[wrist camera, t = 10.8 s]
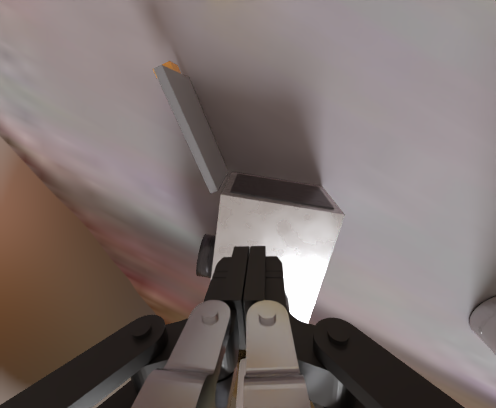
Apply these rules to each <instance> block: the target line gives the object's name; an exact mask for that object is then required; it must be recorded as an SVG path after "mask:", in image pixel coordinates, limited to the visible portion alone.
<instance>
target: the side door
mask: <svg viewBox="0 0 496 408" xmlns="http://www.w3.org/2000/svg"><path fill="white" fill-rule="evenodd" d="M153 71H154V73H155V75H156V77H157V78H158V80H159V83H160V85H161V87H162V89H163V91H164V93H165V96H166V98H167V100H168V102H169V104H170V107H171V109H172V111H173V113H174V115H175V118H176V120H177V122H178V124H179V126H180V128H181V131H182V133H183V135H184V137H185V139H186V142H187V144H188V146H189V148H190V150H191V152H192V155H193V157H194V159H195V161H196V163H197V166H198V168H199V170H200V172H201V174H202V176H203V179H204V181H205V183H206V185H207V187H208V190H209V192H210V193H213V192H216V191H218V189H219V188H220V186H221V184H222V182H223V180H224V179H225V177H226V175H227V173H228V170H227V168H226V165H225V163H224V160H223V158H222V156H221V153H220V151H219V148H218V146H217V144H216V141H215V139H214V136H213V134H212V131H211V129H210V127H209V124H208V122H207V119H206V117H205V115H204V112H203V110H202V107H201V105H200V103H199V100H198V98H197V95H196V93H195V91H194V88H193V86H192V83H191V81H190V78H189V77H187V76H185V75H183V74H181V72H180V70H179V68H178V65H176V64H174V63H172V62H170V61H169V62H167V63H164V64H162V65H160V66H158V67H156V68H154V69H153Z"/></svg>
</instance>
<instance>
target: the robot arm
mask: <svg viewBox="0 0 496 408" xmlns="http://www.w3.org/2000/svg"><path fill="white" fill-rule="evenodd" d="M470 327H471V329H472V330H473V331H474V332H475V333H476V334H477V336H478V337H479V338H480V339H481V340H482V341H483V342H484V343H485V344H486V345H487V346H488V347H489V348H490V349H491V350H492V351H493V352H494V354H495V355H496V297H493V298H491V299H488V300H487V301H485V302H483V303H482V304H481V305H479V306H478V307H477V308H476V309H475V310H474V311H473V313H472V315H471V317H470ZM239 349H240V350H246V375H245V376H244V388H243V408H311V406H310V401H312V402H313V404H314V406H315V408H464V407H463V406H462V405H460V404H459V403H457V402H456V401H455V400H453V399H452V398H451V397H449V396H448V395H447V394H445V393H444V392H443V391H441V390H440V389H439V388H437V387H436V386H434V385H433V384H432V383H430V382H429V381H428V380H426V379H425V378H424V377H422V376H421V375H420V374H418V373H417V372H415V371H414V370H413V369H411V368H410V367H409V366H407V365H406V364H405V363H403V362H402V361H401V360H399V359H398V358H396V357H395V356H394V355H392V354H391V353H390V352H388V351H387V350H386V349H384V348H383V347H382V346H380V345H379V344H377V343H376V342H375V341H373V340H372V339H371V338H369V337H368V336H367V335H365V334H364V333H363V332H361V331H360V330H358V329H357V328H356V327H354V326H353V325H352V324H350V323H348V322H346V321H344V320H342V319H338V318H326V319H323V320H321V321H319V322H318V323H317V324H316V325H312V324H308V323H305V322H302V321H300V320H298V319H297V318H295V317H294V316H293V315H292V314H291V313H290V312H289V310H288V309H287V306H286V298H285V287H284V277H283V267H282V262H281V261H280V259H279V258H278V257H277V256H266V246H235V247H234V249H233V253H232V257H223V258H222V259H221V260H220V261H219V262H218V263H217V265H216V267H215V270H214V273H213V276H212V279H211V282H210V285H209V288H208V291H207V293H206V296H205V299H204V302H203V303H201V304H199V305H198V306H196V307H195V308H194V309H193V311H192V312H191V314H190V316H189V318H188V319H185V320H182V321H179V322H175V323H171V324H167V325H165V322H164V320H163V319H162V318H161V317H160V316H157V315H147V316H143V317H141V318H138V319H136V320H135V321H133V322H131V323H129V324H128V325H126V326H125V327H123V328H121V329H120V330H118V331H117V332H115V333H114V334H112V335H110V336H109V337H107V338H106V339H104V340H103V341H101V342H99V343H98V344H96V345H95V346H93V347H91V348H90V349H88V350H87V351H85V352H84V353H82V354H80V355H79V356H77V357H76V358H74V359H73V360H71V361H69V362H68V363H66V364H65V365H63V366H61V367H60V368H58V369H57V370H55V371H54V372H52V373H50V374H49V375H47V376H46V377H44V378H42V379H41V380H39V381H38V382H36V383H35V384H33V385H31V386H30V387H28V388H27V389H25V390H24V391H22V392H20V393H19V394H17V395H16V396H14V397H13V398H11V399H9V400H8V401H6V402H5V403H3V404H1V405H0V408H92V407H93V406H94V405H96V404H97V403H98V402H99V401H101V400H102V399H103V398H104V397H106V396H107V395H108V394H109V393H111V392H112V391H113V390H115V389H116V388H117V387H119V386H120V385H121V384H122V383H124V382H125V381H126V380H127V379H128V378H130V377H131V381H130V382H128V383H127V384H126V385H125V386H123V387H122V388H121V389H119V390H118V391H117V392H116V393H115V394H113V395H112V396H111V397H109V398H108V399H107V400H106V401H104V402H103V403H102V404H101V405H99V406H98V407H97V408H230V406H231V400H232V395H233V390H234V385H235V380H236V375H237V361H238V353H239ZM309 400H310V401H309Z"/></svg>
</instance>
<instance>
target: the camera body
mask: <svg viewBox="0 0 496 408" xmlns="http://www.w3.org/2000/svg"><path fill="white" fill-rule="evenodd" d="M344 216H345V214H344V213H343V212H342V210H341V209H340V208H339V207H338V205H337V204H336V203H335V202H334V200H333V199H332V198H331V197H330V195H329V194H328V193H327V192H326V190H325V189H324V188H323V187H322V186H317V185H311V184H305V183H299V182H293V181H286V180H280V179H274V178H268V177H262V176H256V175H250V174H244V173H238V172H231V174H230V176H229V179H228V181H227V183H226V185H225V187H224V189H223V191H222V193H221V196H220V205H219V213H218V222H217V231H216V236H213V235H207V234H205V235H204V237H203V239H202V242H201V246H200V250H199V254H198V260H197V268H196V274H197V276H202V277H208V278H211V279H212V276H213V273H214V270H215V267H216V265H217V263H218V262H219V261H220V260H221V259H222V258H223V257H232V253H233V249H234V247H235V246H266V256H277V257H278V258H279V259H280V261H281V262H282V267H283V277H284V287H285V298H286V306H287V309H288V310H289V312H290V313H291V314H292V315H293V316H294V317H295V318H297V319H298V320H300V321H302V322H305V323H308V321H309V318H310V315H311V312H312V309H313V307H314V304H315V301H316V298H317V295H318V292H319V289H320V286H321V283H322V280H323V277H324V275H325V272H326V269H327V266H328V263H329V260H330V257H331V254H332V251H333V248H334V245H335V242H336V240H337V237H338V234H339V231H340V228H341V225H342V222H343V219H344Z"/></svg>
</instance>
